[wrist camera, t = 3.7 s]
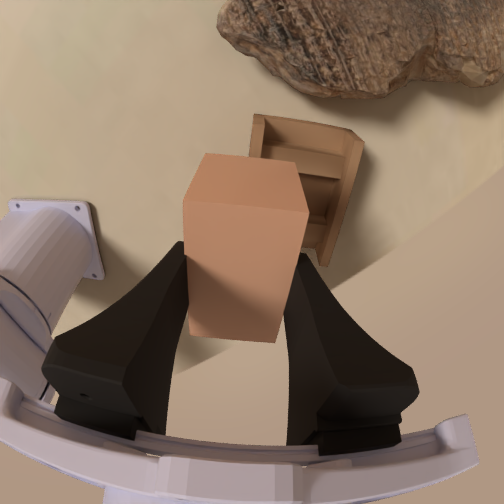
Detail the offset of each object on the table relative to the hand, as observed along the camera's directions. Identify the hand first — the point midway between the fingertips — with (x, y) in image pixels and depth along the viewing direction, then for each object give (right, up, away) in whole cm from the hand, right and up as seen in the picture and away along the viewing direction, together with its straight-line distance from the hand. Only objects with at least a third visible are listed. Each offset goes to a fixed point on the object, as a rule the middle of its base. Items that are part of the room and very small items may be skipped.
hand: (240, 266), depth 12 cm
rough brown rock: (+8, +16, -1) cm, 18 cm away
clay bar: (0, +2, +3) cm, 3 cm away
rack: (+3, +5, +7) cm, 10 cm away
